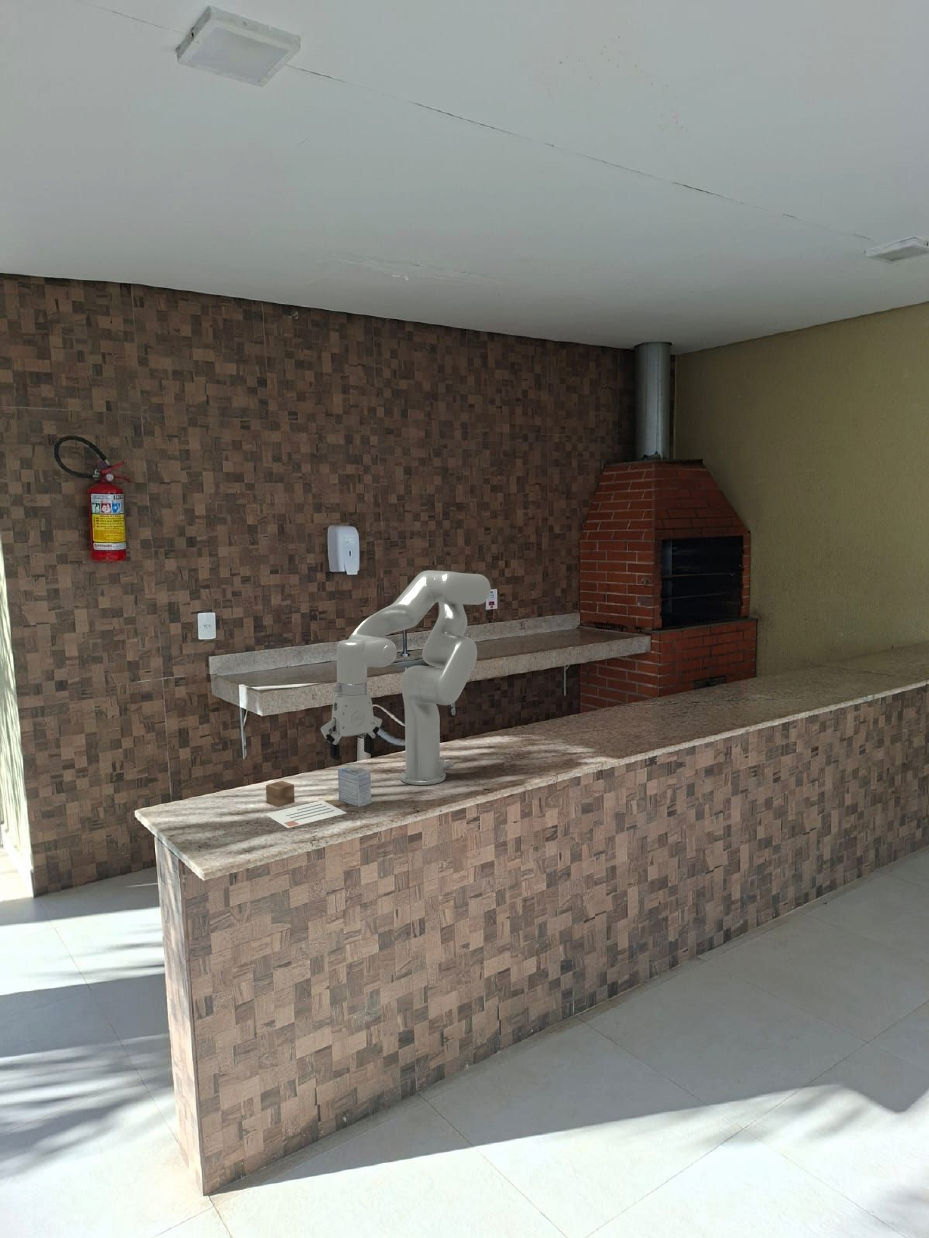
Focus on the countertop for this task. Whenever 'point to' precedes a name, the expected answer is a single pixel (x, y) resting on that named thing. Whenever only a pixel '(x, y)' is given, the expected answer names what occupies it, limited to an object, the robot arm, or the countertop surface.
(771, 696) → the countertop surface
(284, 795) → the walnut block
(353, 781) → the medicine box
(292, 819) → the letter
